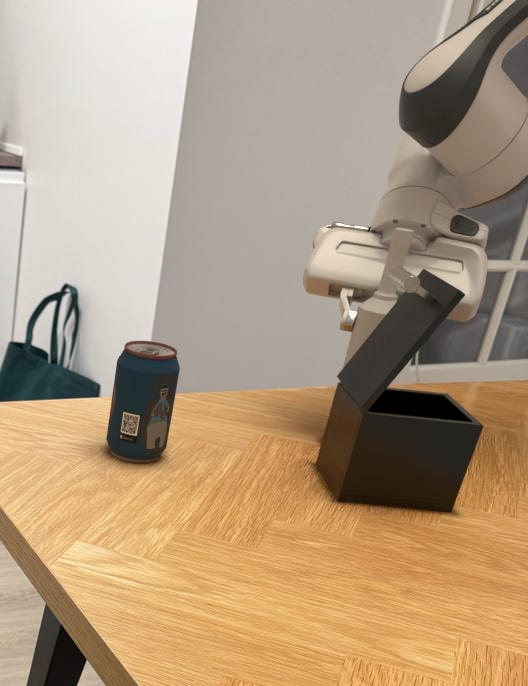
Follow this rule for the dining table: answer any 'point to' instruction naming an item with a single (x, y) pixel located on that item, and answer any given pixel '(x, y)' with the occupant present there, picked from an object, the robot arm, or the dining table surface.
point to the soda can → (142, 401)
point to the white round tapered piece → (380, 294)
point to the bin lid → (399, 334)
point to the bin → (398, 449)
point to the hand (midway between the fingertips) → (374, 333)
